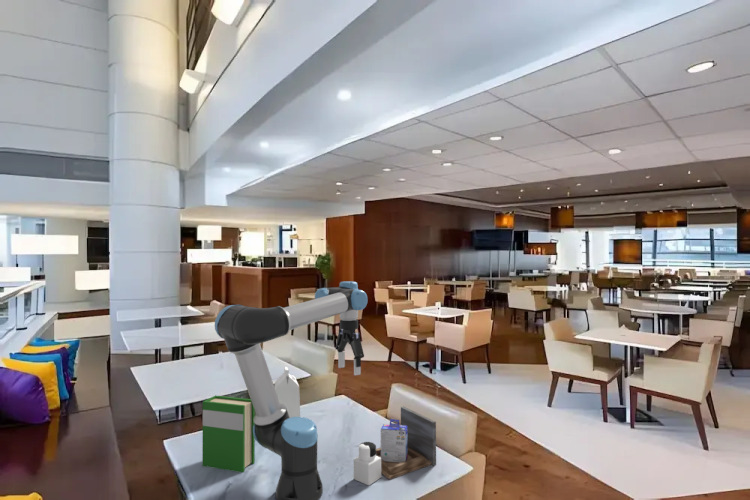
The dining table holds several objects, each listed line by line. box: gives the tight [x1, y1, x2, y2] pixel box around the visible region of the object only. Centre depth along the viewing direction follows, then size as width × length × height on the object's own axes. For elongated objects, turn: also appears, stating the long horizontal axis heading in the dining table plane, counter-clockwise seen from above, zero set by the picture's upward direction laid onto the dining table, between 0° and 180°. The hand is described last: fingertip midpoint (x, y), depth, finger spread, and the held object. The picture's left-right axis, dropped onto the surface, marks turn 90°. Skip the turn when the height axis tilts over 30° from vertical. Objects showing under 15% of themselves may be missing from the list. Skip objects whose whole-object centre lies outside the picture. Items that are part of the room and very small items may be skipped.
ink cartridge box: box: [380, 418, 408, 463], centre depth 162 cm, size 10×6×14 cm, turn 79°
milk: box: [274, 366, 301, 418], centre depth 200 cm, size 12×12×26 cm
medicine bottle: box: [353, 441, 382, 486], centre depth 150 cm, size 7×7×12 cm
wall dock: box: [376, 406, 437, 480], centre depth 163 cm, size 21×20×16 cm
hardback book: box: [201, 395, 256, 473], centre depth 161 cm, size 18×7×24 cm, turn 73°
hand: (349, 371), depth 175 cm, fingers open, 13 cm apart
